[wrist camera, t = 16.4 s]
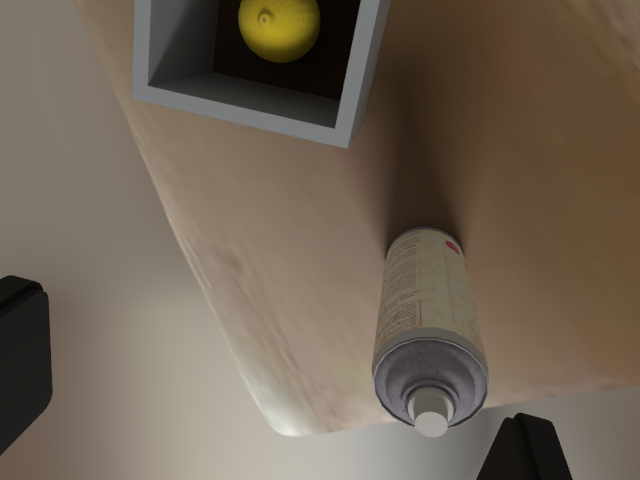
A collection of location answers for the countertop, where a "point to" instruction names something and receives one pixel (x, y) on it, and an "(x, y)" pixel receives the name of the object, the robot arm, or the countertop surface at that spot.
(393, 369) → the aerosol can
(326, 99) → the tub
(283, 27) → the lemon
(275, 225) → the countertop surface
